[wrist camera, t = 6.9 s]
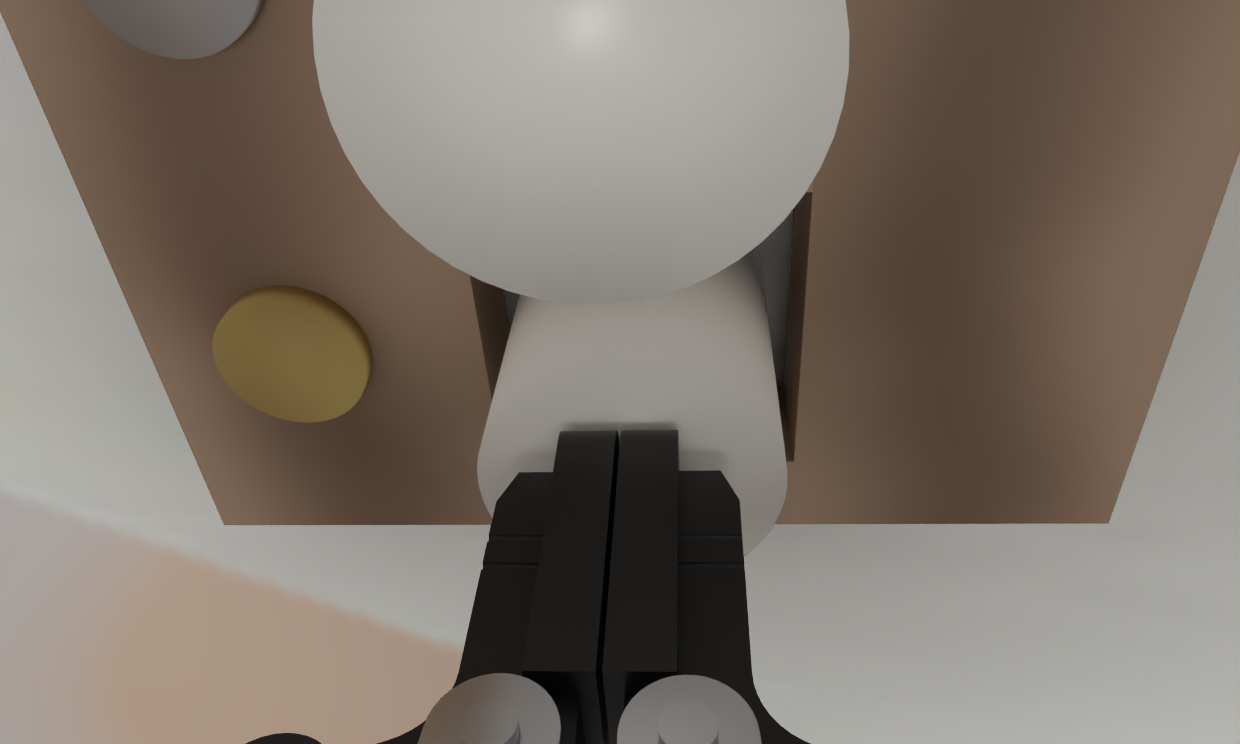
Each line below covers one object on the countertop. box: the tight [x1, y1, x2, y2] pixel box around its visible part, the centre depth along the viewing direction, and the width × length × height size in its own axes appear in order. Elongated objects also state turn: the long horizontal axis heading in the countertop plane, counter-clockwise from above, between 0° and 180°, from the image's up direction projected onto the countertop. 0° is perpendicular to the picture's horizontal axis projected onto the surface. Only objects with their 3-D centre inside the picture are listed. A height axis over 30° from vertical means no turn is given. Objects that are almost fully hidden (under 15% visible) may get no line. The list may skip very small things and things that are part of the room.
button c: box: [477, 247, 788, 556], centre depth 14 cm, size 4×4×5 cm
